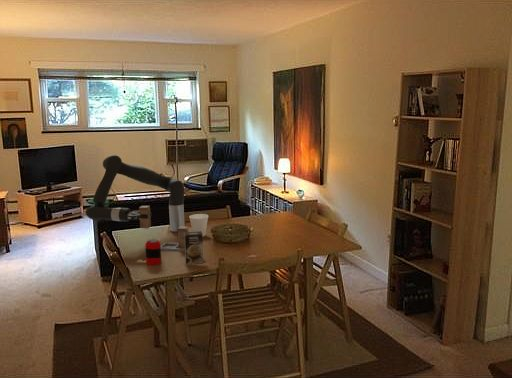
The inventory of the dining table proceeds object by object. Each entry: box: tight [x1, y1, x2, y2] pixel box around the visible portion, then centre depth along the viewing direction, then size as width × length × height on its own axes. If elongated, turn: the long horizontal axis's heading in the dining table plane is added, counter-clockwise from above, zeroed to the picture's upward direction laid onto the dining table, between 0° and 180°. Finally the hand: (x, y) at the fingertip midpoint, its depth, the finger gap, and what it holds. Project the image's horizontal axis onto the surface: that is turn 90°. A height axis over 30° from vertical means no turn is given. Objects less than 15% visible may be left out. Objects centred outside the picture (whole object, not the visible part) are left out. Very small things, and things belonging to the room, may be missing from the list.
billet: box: [138, 205, 152, 230], centre depth 263 cm, size 4×4×12 cm
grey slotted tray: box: [160, 242, 185, 253], centre depth 263 cm, size 12×21×3 cm, turn 80°
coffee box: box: [184, 231, 204, 266], centre depth 242 cm, size 9×6×16 cm
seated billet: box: [177, 225, 189, 249], centre depth 261 cm, size 4×4×12 cm
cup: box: [189, 213, 209, 237], centre depth 291 cm, size 12×12×12 cm
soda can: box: [144, 238, 162, 266], centre depth 243 cm, size 8×8×12 cm
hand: (149, 215), depth 262 cm, fingers closed on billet, 4 cm apart
